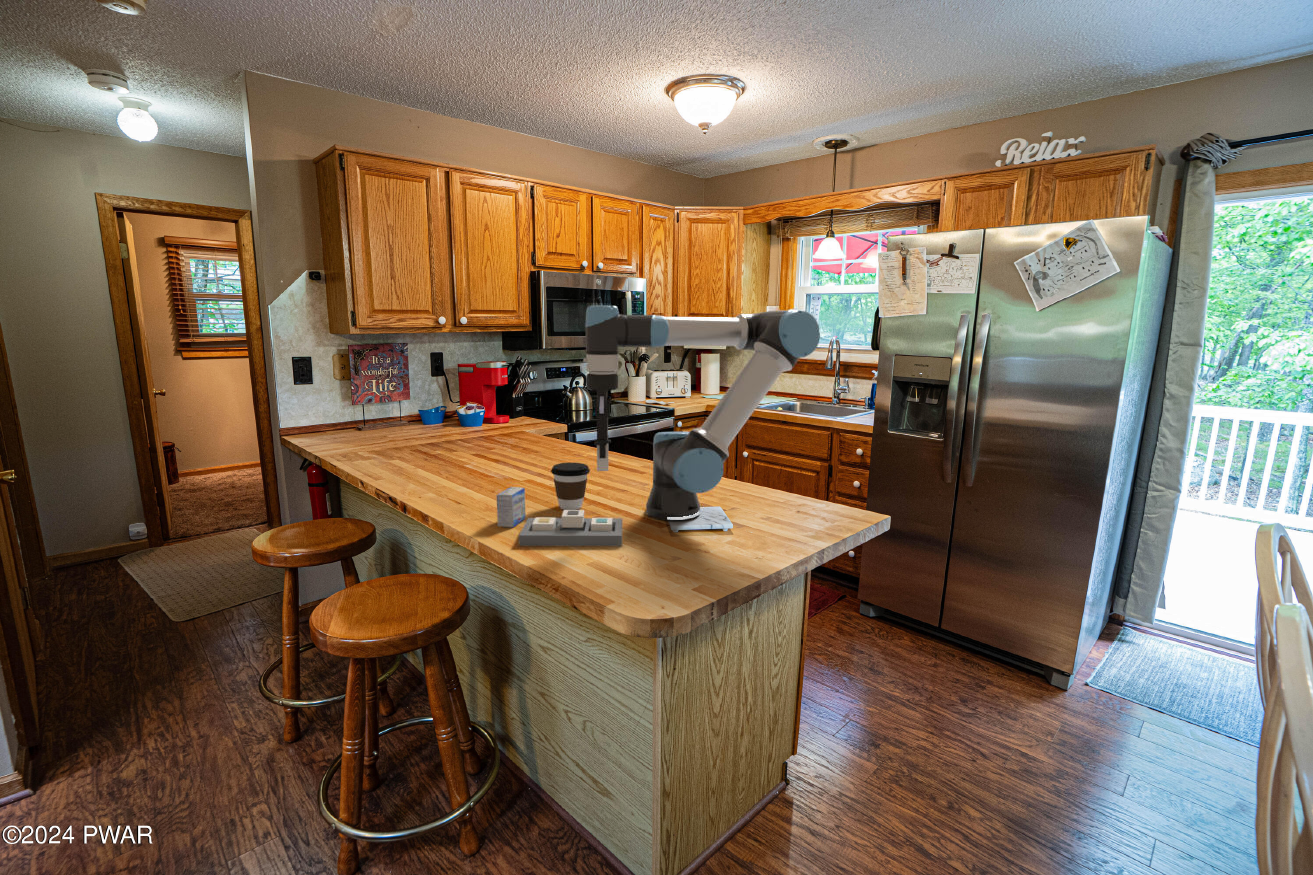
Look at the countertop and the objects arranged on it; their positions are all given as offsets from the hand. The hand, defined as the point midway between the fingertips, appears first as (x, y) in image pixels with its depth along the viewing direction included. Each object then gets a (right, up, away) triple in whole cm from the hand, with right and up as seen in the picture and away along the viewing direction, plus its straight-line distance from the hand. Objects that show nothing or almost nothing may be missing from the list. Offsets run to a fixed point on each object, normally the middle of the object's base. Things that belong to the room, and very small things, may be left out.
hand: (602, 470), depth 143 cm
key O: (0, -15, +2) cm, 16 cm away
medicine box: (-25, -15, +12) cm, 31 cm away
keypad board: (-7, -16, +2) cm, 18 cm away
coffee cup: (-12, -12, +26) cm, 31 cm away
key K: (-7, -13, +2) cm, 15 cm away
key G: (-14, -15, +2) cm, 21 cm away
